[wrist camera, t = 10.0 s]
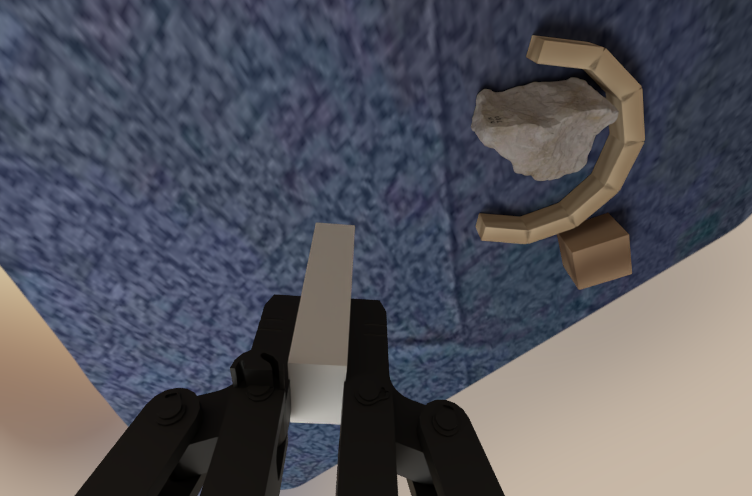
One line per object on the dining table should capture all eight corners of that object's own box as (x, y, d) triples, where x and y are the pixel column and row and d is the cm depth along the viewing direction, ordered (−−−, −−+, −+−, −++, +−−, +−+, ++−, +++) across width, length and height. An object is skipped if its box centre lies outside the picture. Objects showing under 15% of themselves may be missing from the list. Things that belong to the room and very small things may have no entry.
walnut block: (555, 229, 40) (572, 252, 37) (607, 211, 39) (629, 234, 36) (562, 265, 43) (578, 289, 40) (611, 249, 42) (631, 273, 39)
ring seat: (532, 35, 30) (544, 40, 28) (666, 51, 31) (687, 57, 29) (475, 226, 40) (481, 240, 38) (578, 234, 40) (589, 249, 38)
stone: (564, 171, 37) (592, 202, 32) (457, 162, 36) (470, 193, 31) (600, 77, 32) (640, 98, 27) (478, 66, 31) (497, 85, 27)
